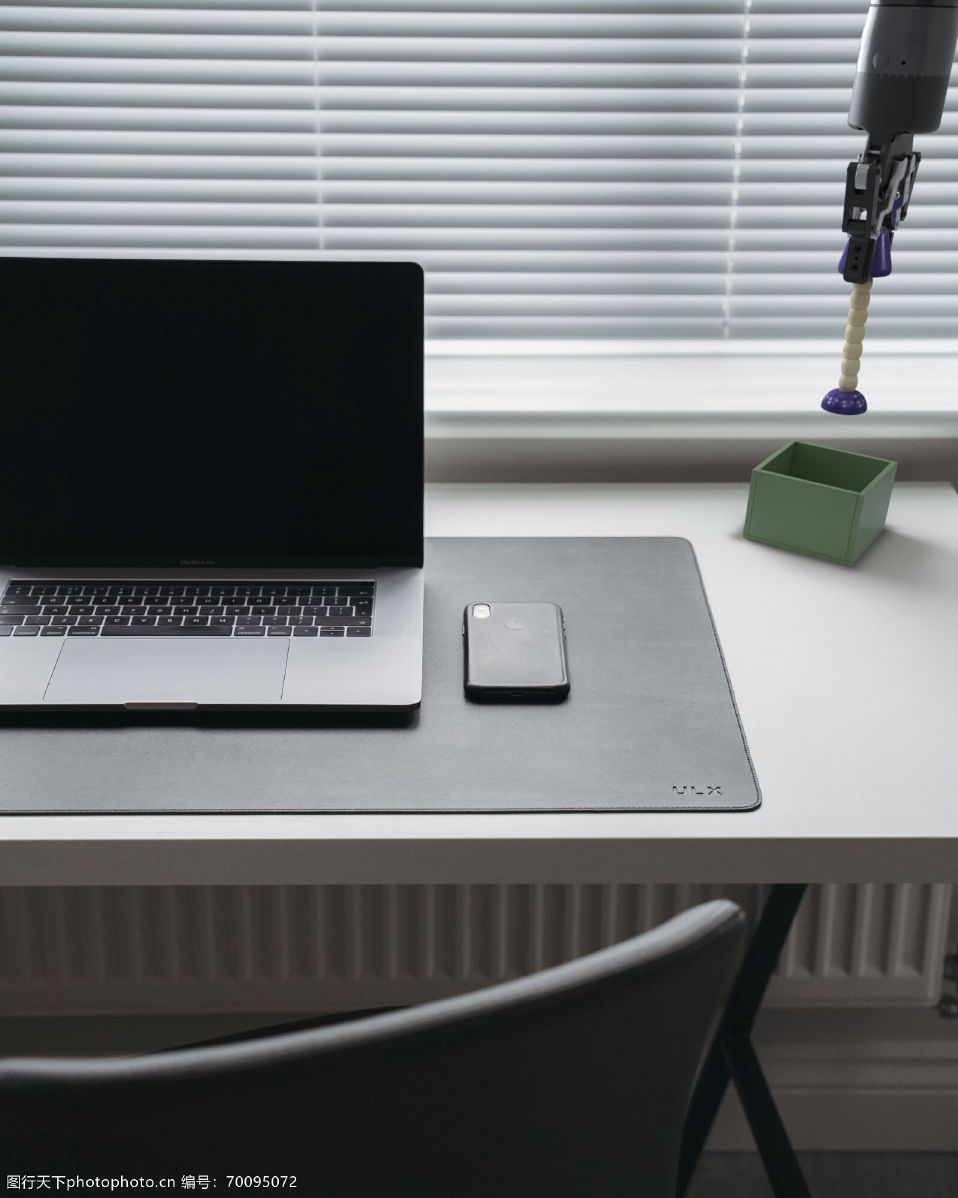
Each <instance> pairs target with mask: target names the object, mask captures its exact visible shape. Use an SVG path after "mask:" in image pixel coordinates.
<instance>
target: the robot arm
mask: <svg viewBox="0 0 958 1198" xmlns="http://www.w3.org/2000/svg"><path fill="white" fill-rule="evenodd" d="M869 4H870V6H869V7H868V12H867V16H866V19H865V23H864V26H863V29H862V32H861V33H862V34H861V37H860V42H859V49H858V54H857V60H856V66H855V72H854V80H853V86H852V91H851V97H850V103H849V107H848V108H849V109H848V115H847V120H846V121H847V125H848V127H849V128H850V129H853V130H857V131H865V132H866V133H867V134H866V135H867V136H866V139H865V143H864V147H863V149H862V153H859V154H858V156H857V159H856V161H850V162H849V163H848V165H847V167H846V180H845V188H844V189H845V190H844V200H843V213H842V223H841V232H842V233H846V237H847V238H849V237H850V240H849V245H848V251H847V257H846V262H845V268H844V274H842V279H843V281H844V282H846V283H848V284H849V283H851V284H852V283H856V284H865V283H867V282H868V281H869V280H870V277H871V271H872V266H873V260H874V255H875V250H876V244H877V239H878V237H879V235H880V229H881V226H884V227H886V228H887V229H888V233H889V242H890V252H892V248H893V242H894V236H895V232H897V231H898V229H899V228H900V226H901V222H904V221H905V220H906V218H907V217H908V209H909V206H910V205H909V204H910V202H911V197H912V193H913V190H914V186H915V185H914V184H915V182H916V178H917V174H918V170H919V166H920V163H921V161H922V152H921V151H913V150H914V138H915V137H914V136H915V135H925V134H926V135H927V134H933V133H935V132H936V131H938V130H939V129H940V126H941V123H942V117H943V114H944V108H945V105H946V99H947V94H948V88H949V85H950V84H949V83H950V79H951V73H952V69H953V64H954V58H955V55H956V50H957V49H956V48H957V45H958V0H870V1H869ZM864 212H866V216H865V219H862V218H861V217H862V214H863V213H864Z"/></svg>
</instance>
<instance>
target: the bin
mask: <svg viewBox="0 0 958 1198" xmlns="http://www.w3.org/2000/svg"><path fill="white" fill-rule="evenodd" d="M898 464H899V462H898V461H895V460H890V459H887V458H881V457H877V456H872V455H867V454H864V453H859V452H853V451H849V450H846V449H840V448H836V447H831V446H827V445H823V444H818V443H814V442H813V443H812V442H809V441H803V440H799V439H794V438H792V439H790V440H789V441H788V442H786V443H785V444H784V445H783V446H781V447H780V448H778V449H777V450H775V452H774V453H772V454H771V455H770V456H768V457H767V458H765V460H763V461H762V462H761V463H759V464H758V465H756V467H754V468H752V470H751V477H750V483H749V490H748V496H747V505H746V512H745V518H744V524H743V531H742V538H743V539H747V540H751V541H755V542H758V543H761V544H766V545H769V546H772V547H776V548H781V549H784V550H788V551H792V552H795V553H799V554H803V555H806V556H810V557H813V558H817V559H821V560H825V561H830V562H832V563H836V564H840V565H844V566H847V567H851V566H852V565H853V564H854V563H855V562H856V561H857V560H858V559H859V557H860V556H861V555H862V554H863V553H864V552H865V550H867V549H868V548H869V546H870V545H871V544H872V543H873V541H874V540H876V538H878V536H879V535H880V534H881V533H882V532H883V530H884V529H885V527H886V526H885V524H886V521H887V515H888V512H889V508H890V507H889V506H890V502H891V498H892V492H893V488H894V484H895V479H896V474H897V469H898Z"/></svg>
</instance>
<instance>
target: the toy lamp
mask: <svg viewBox="0 0 958 1198" xmlns="http://www.w3.org/2000/svg"><path fill="white" fill-rule="evenodd" d="M849 240H850V237H848V239H847V241H846V243H845V247H844V250H843V252H842V254H841V256H840V260H839V263H838V264H837V272H838V273H839V274H840V275H843V274H844V268H845V262H846V257H847V251H848V245H849ZM891 252H892V251H891ZM891 252H890V242H889V233H888V229H887V228H886V227H884V226H881V229H880V235H879V237H878V239H877V244H876V250H875V255H874V260H873V266H872V271H871V277H870V280H869V281H868V282H867V283H865V284H856V283H851V284H852V290H853V291H852V292H851V294H850V296H849V305H850V308H849V310H848V312H847V326H846V328H845V332H844V337H845V342H844V344H843V347H842V356H843V358H842V360H841V363H840V371H841V374H840V376H839V378H838V387H837V388H833V389H831V390H830V391H828V392H827V393H826V394H825V395H824V397H823V398H822V400H821V403H820V408H821V409H822V410H823V411H826V412H827V413H831V414H835V415H840V416H859V415H862V414H863V415H864V414H865V413H866V412H868V402H867V399H866V398H865V396H864V394H863V393H862V392H860V391H859V390H857V387H858V384H859V378H858V377H859V376H858V374H859V372H860V370H861V360H860V358H861V356H862V355H863V350H864V348H863V347H864V346H863V343H862V342H863V341H864V339H865V335H866V327H865V324H866V322H867V320H868V315H869V314H868V313H869V312H868V310H867V308H868V307H869V306H870V302H871V294H870V291H871V289H872V287H873V284H874V279H875V278H876V279H879V278H885V277H888V276H890V275H891V274H892V271H893V264H892V263H893V262H892V255H891V254H892V253H891Z"/></svg>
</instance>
